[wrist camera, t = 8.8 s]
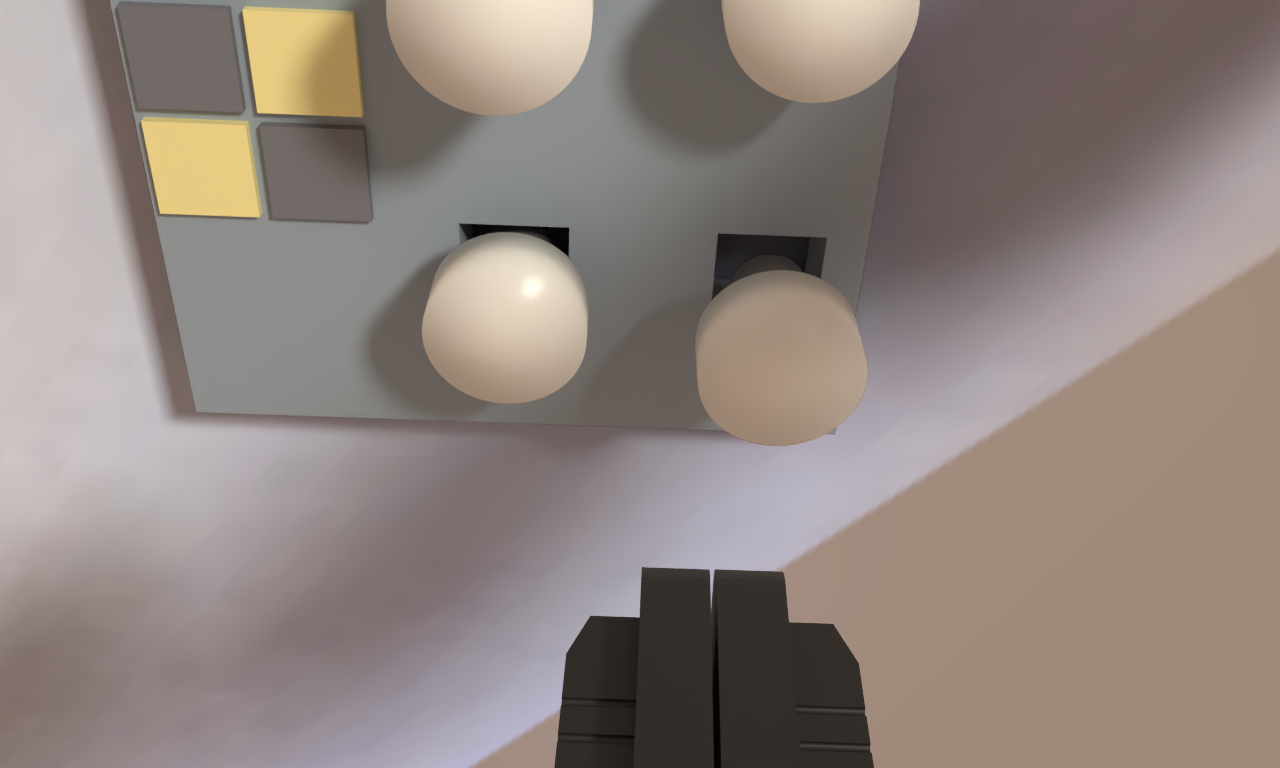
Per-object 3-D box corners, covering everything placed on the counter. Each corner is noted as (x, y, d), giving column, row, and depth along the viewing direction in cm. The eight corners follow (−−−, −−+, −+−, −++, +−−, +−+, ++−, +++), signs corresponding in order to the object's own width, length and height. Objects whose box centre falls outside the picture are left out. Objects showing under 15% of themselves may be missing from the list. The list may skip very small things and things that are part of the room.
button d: (593, 188, 39) (588, 269, 34) (590, 317, 41) (585, 406, 37) (440, 182, 38) (416, 263, 34) (447, 312, 41) (426, 400, 37)
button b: (854, 223, 37) (880, 310, 33) (833, 352, 40) (854, 448, 36) (697, 216, 37) (704, 304, 33) (687, 347, 40) (692, 443, 36)
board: (935, -297, 32) (961, -278, 30) (824, 384, 45) (836, 439, 42) (87, -339, 32) (36, -324, 29) (220, 362, 44) (193, 417, 42)
